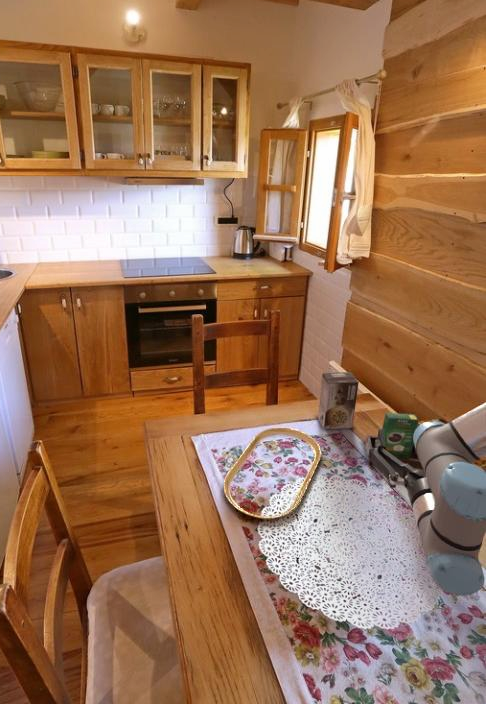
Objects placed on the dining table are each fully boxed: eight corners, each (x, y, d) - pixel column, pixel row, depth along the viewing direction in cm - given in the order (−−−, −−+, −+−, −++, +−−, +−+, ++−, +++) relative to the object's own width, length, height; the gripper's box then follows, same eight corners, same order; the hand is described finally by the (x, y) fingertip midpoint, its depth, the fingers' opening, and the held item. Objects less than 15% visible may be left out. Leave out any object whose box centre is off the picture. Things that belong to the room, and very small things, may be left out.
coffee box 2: (406, 454, 110) (415, 413, 106) (410, 461, 108) (419, 419, 103) (376, 452, 111) (383, 411, 106) (379, 460, 108) (387, 418, 104)
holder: (424, 474, 104) (426, 462, 103) (368, 465, 107) (370, 454, 106) (416, 452, 112) (418, 441, 111) (364, 445, 115) (366, 434, 114)
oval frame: (328, 444, 115) (328, 439, 114) (286, 536, 86) (286, 530, 85) (266, 424, 123) (267, 420, 123) (209, 502, 94) (209, 497, 94)
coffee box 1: (345, 417, 128) (351, 371, 122) (352, 429, 122) (360, 382, 116) (316, 417, 127) (322, 372, 121) (322, 430, 121) (328, 382, 115)
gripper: (361, 510, 80) (353, 443, 100) (502, 534, 75) (464, 459, 95) (366, 480, 78) (356, 417, 97) (513, 503, 73) (471, 432, 92)
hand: (409, 438), depth 96 cm, fingers open, 13 cm apart
